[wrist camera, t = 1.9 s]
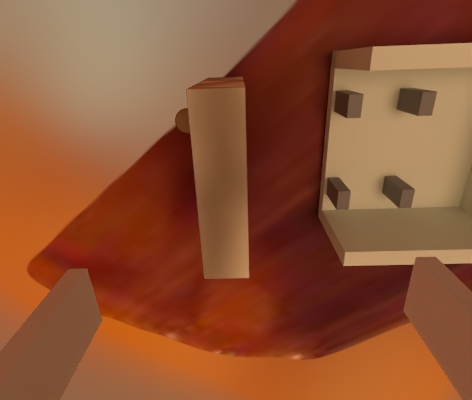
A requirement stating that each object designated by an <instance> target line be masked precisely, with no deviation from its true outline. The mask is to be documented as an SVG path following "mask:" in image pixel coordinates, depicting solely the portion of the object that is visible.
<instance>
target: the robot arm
mask: <svg viewBox="0 0 472 400" xmlns="http://www.w3.org/2000/svg"><path fill="white" fill-rule="evenodd" d="M403 311H404V312H405V314H406V315H407V317H408V318H409V320H410V321H411V323H412V324H413V326H414V327H415V329H416V330H417V332H418V333H419V335H420V336H421V338H422V339H423V341H424V342H425V344H426V345H427V347H428V348H429V350H430V351H431V353H432V354H433V356H434V357H435V359H436V360H437V362H438V363H439V365H440V366H441V368H442V369H443V371H444V372H445V374H446V375H447V377H448V378H449V380H450V381H451V383H452V384H453V386H454V387H455V389H456V390H457V392H458V393H459V395H460V396H461V398H462V399H463V400H472V292H471V291H470V290H469V289H468V288H467V287H466V286H465V285H464V284H463V283H462V282H461V281H460V280H459V279H458V278H457V277H456V276H455V275H454V274H453V273H452V272H451V271H450V270H449V269H448V268H447V267H446V266H445V265H444V264H443V263H442V262H441V261H440V260H439V259H438V258H437V257H416V258H415V263H414V267H413V271H412V276H411V280H410V284H409V289H408V293H407V297H406V302H405V306H404V310H403ZM101 321H102V317H101V314H100V311H99V307H98V304H97V301H96V297H95V294H94V291H93V287H92V284H91V281H90V277H89V274H88V271H87V269H68V270H67V271H66V273H65V274H64V275H63V276H62V278H61V279H60V280H59V281H58V282H57V284H56V285H55V286H54V287H53V288H52V290H51V291H50V292H49V293H48V294H47V296H46V297H45V298H44V299H43V300H42V302H41V303H40V304H39V305H38V307H37V308H36V309H35V310H34V311H33V313H32V314H31V315H30V316H29V317H28V319H27V320H26V321H25V322H24V323H23V325H22V326H21V327H20V329H19V330H18V331H17V332H16V333H15V334H14V336H13V337H12V338H11V339H10V340H9V342H8V343H7V344H6V345H5V346H4V348H3V349H2V350H1V351H0V400H60V399H61V396H62V395H63V393H64V391H65V389H66V387H67V385H68V383H69V382H70V379H71V378H72V376H73V374H74V372H75V370H76V368H77V367H78V365H79V363H80V361H81V359H82V357H83V355H84V353H85V351H86V350H87V348H88V346H89V344H90V342H91V340H92V338H93V336H94V334H95V333H96V331H97V329H98V327H99V325H100V323H101Z"/></svg>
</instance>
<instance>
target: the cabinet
mask: <svg viewBox="0 0 472 400" xmlns="http://www.w3.org/2000/svg"><path fill="white" fill-rule="evenodd" d="M318 217H319V219H320V221H321V223H322V225H323V227H324V228H325V230H326V232H327V234H328V236H329V238H330V240H331V242H332V244H333V246H334V248H335V250H336V252H337V254H338V256H339V258H340V260H341V262H342V264H343V266H360V265H407V264H414V263H415V258H416V257H437V258H438V259H439V260H440V261H441V262H442V263H443V264H455V263H472V43H455V44H429V45H403V46H377V47H366V48H357V49H348V50H339V51H332V59H331V70H330V82H329V94H328V105H327V117H326V129H325V140H324V152H323V164H322V175H321V187H320V199H319V210H318Z"/></svg>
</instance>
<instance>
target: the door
mask: <svg viewBox="0 0 472 400" xmlns="http://www.w3.org/2000/svg"><path fill="white" fill-rule="evenodd" d="M186 93H187V103H188V108H185V109H182V110H180V111H179V112H178V113H177V115H176V118H175V123H176V126H177V128H178V129H179V130H180V131H182V132H184V133H190V134H191V145H192V155H193V166H194V176H195V186H196V197H197V207H198V217H199V228H200V238H201V249H202V259H203V269H204V279H220V278H249V250H248V202H247V154H246V107H245V85H244V80H243V77H221V78H207V79H205V80H203V81H201V82H200V83H198V84H196V85H194V86H192V87H190V88H188V89H186Z"/></svg>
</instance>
